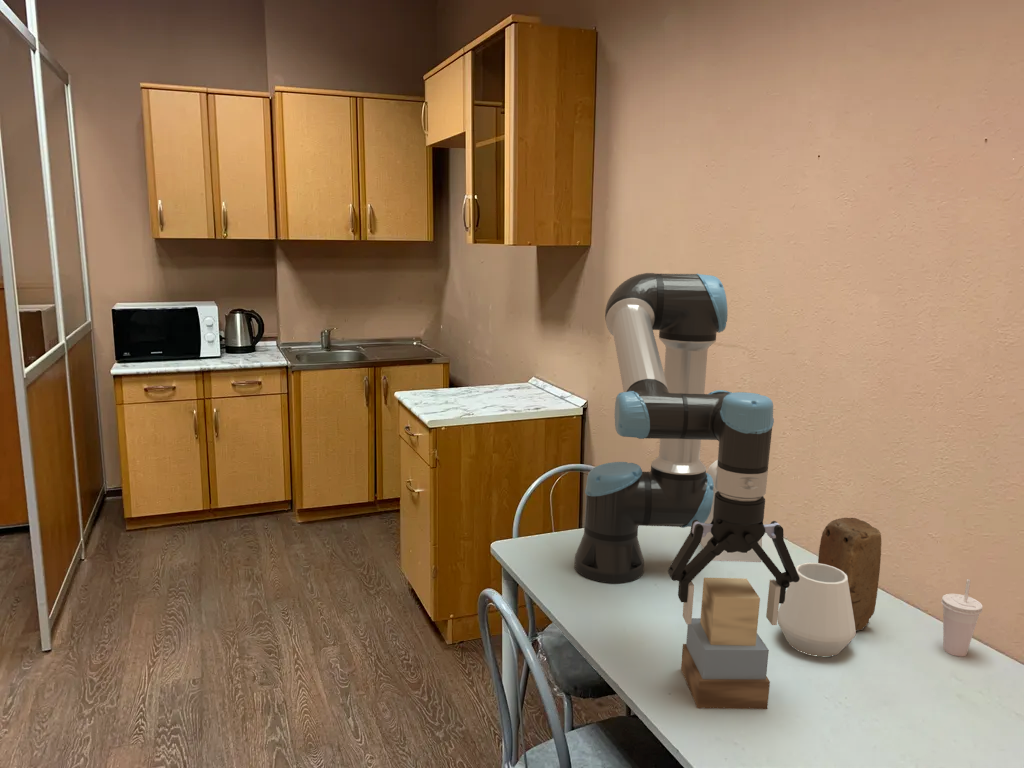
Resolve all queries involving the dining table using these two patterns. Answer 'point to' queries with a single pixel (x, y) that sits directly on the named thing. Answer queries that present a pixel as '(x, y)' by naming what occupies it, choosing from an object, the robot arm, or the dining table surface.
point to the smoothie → (959, 621)
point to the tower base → (724, 689)
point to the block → (854, 562)
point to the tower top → (725, 656)
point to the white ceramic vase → (818, 611)
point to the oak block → (729, 611)
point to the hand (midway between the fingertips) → (729, 620)
